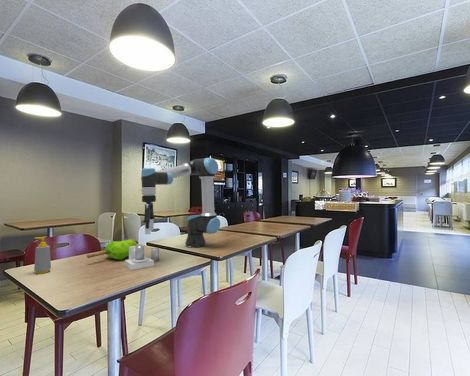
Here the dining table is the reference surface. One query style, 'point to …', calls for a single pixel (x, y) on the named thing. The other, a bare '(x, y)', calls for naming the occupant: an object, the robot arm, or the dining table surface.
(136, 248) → the spacer
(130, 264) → the light grey square stand
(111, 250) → the decorative tree
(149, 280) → the dining table surface
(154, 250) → the spacer
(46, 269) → the soap bottle
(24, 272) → the dining table surface
